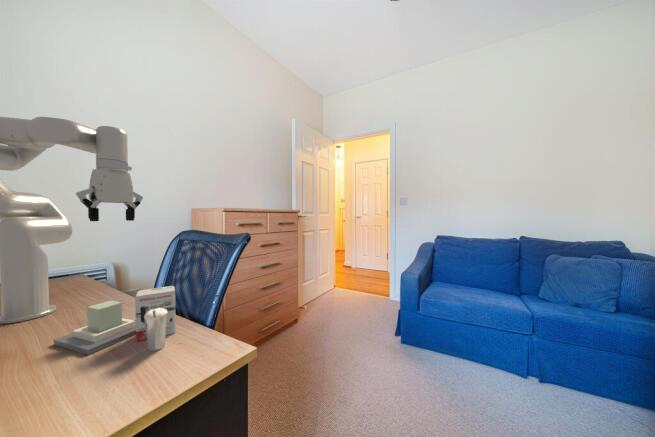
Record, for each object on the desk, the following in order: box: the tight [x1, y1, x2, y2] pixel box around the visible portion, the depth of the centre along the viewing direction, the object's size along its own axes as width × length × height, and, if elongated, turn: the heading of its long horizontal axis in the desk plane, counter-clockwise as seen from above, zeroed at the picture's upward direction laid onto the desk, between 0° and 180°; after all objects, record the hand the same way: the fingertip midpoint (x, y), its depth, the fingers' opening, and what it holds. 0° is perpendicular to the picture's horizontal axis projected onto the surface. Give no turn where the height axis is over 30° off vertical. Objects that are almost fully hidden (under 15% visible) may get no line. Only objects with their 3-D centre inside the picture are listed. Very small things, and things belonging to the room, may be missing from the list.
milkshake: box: [144, 308, 168, 352], centre depth 57 cm, size 4×5×10 cm
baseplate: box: [53, 317, 136, 356], centre depth 63 cm, size 14×14×3 cm
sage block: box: [86, 300, 123, 334], centre depth 63 cm, size 5×5×7 cm
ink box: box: [134, 285, 176, 343], centre depth 64 cm, size 8×5×12 cm, turn 123°
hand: (113, 220), depth 77 cm, fingers open, 9 cm apart
